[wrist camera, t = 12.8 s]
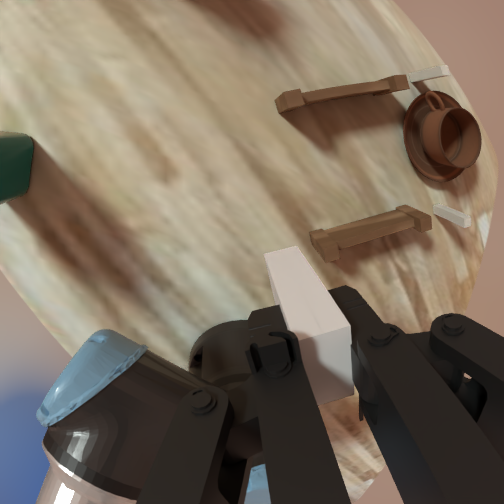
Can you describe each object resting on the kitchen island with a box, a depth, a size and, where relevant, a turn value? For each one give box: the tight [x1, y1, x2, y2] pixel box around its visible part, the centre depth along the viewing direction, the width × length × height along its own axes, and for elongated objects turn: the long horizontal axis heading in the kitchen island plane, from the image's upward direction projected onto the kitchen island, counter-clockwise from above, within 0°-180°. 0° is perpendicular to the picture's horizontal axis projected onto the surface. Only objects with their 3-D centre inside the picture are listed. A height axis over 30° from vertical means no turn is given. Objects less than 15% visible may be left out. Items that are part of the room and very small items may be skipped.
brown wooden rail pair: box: [275, 75, 432, 263], centre depth 31 cm, size 18×14×6 cm
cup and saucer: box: [403, 91, 481, 182], centre depth 31 cm, size 12×12×6 cm
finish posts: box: [409, 65, 471, 228], centre depth 31 cm, size 19×1×7 cm, turn 16°
